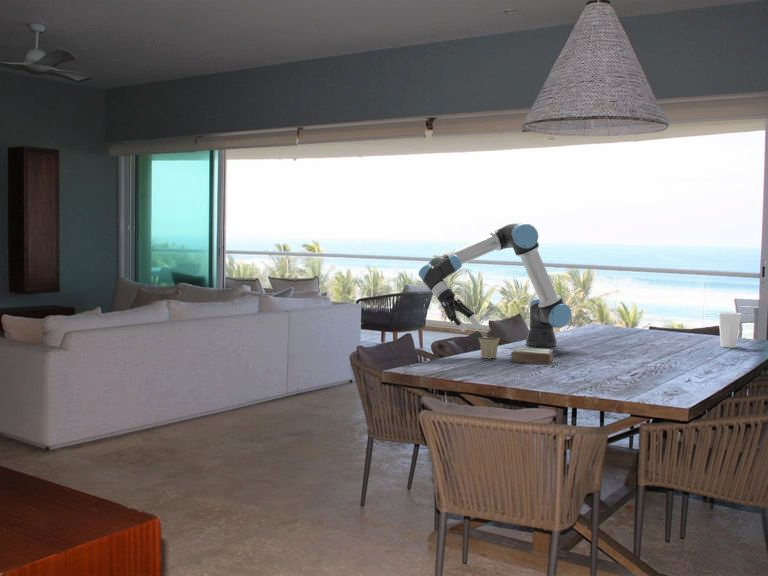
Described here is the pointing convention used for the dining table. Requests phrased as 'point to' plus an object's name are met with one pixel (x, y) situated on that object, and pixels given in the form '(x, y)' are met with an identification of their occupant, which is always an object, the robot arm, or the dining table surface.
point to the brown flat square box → (532, 355)
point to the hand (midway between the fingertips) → (472, 329)
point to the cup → (729, 328)
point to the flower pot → (489, 347)
